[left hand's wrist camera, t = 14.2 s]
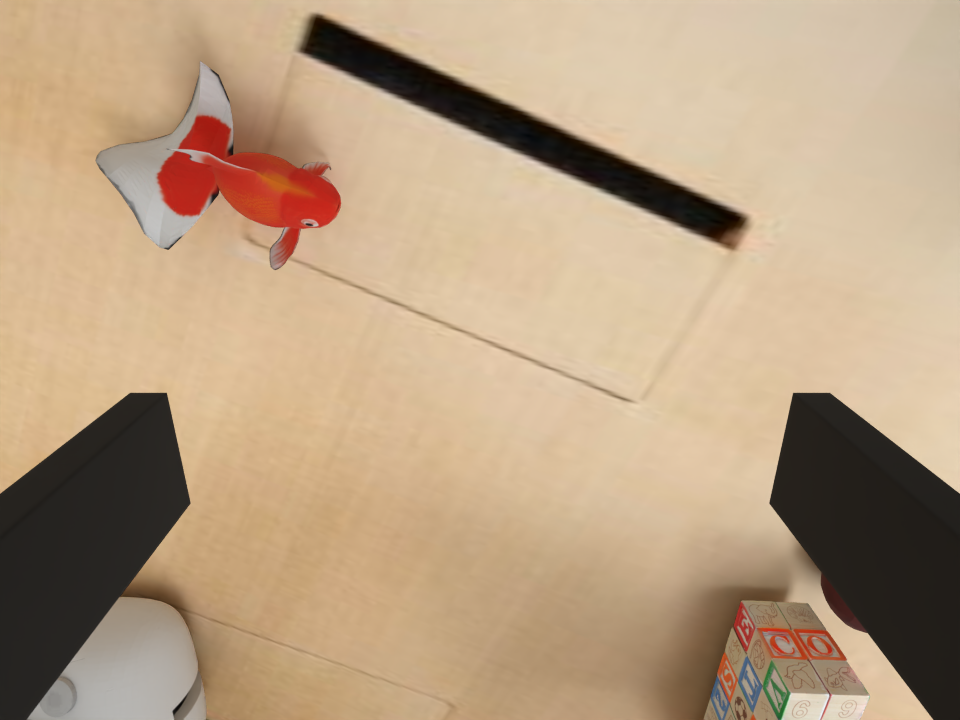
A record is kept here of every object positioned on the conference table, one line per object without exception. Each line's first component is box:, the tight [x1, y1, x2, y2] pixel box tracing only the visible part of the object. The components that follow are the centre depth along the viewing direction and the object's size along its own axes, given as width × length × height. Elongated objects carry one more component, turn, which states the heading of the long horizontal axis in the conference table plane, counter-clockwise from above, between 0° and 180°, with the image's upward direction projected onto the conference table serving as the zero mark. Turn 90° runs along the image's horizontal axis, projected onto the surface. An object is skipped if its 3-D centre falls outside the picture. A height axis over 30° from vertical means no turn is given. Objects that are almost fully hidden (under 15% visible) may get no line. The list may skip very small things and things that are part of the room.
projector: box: [27, 597, 206, 720], centre depth 49 cm, size 22×23×15 cm
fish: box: [96, 61, 341, 270], centre depth 37 cm, size 11×16×10 cm
